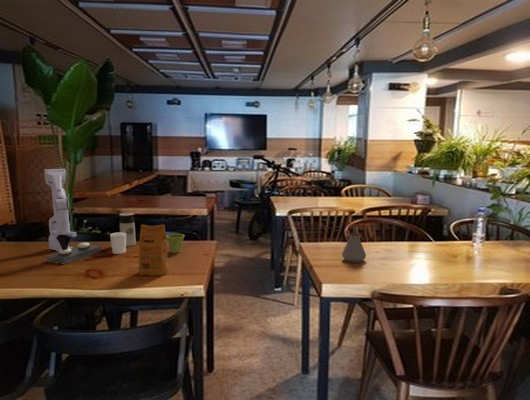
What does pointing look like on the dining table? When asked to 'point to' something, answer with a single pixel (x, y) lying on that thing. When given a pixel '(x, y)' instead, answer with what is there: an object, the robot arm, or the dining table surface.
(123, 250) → the white cup
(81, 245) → the knob
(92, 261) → the dining table surface
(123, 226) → the travel mug
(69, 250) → the knob
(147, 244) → the coffee package
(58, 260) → the knob mount
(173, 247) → the plant pot
